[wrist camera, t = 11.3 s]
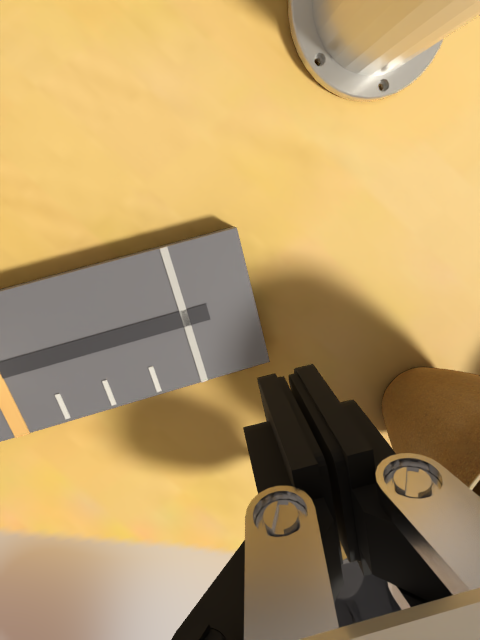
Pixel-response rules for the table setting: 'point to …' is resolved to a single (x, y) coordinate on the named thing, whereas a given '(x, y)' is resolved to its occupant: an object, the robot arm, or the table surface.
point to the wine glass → (362, 595)
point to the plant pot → (437, 419)
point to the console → (125, 331)
